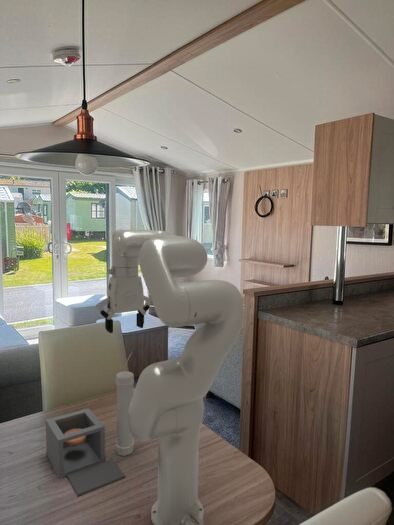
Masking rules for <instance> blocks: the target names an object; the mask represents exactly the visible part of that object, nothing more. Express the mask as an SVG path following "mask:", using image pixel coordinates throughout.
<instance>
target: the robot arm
mask: <svg viewBox="0 0 394 525" xmlns="http://www.w3.org/2000/svg"><path fill="white" fill-rule="evenodd" d="M111 255H112V256H111V268H110V269H108V268H107V274H108V275H111V276H110V277H109V281H108V287H107V294H106V295H107V296H106V298H105V299H103V300H101V301H100V302H98V303H97V304H96V309H97V311H98V312H99V314H100V315H101V316H102V317H103V318H105V319H104V321H105V322H104V323H105V326H104V328H105V330H106V332H108V333H109V334H113V333H114V319H113V317H114V315H115V314H121V313H122V314H123V313H128V312H136V311H137V313H136V327H138V328H141V329H143V328H144V325H145V315H147V311H148V310H149V309H150V306H151V304H153V308H154V310H155V313H156V315H157V317H158V319H159V320H160V321H161V323H163V324H164V325H165V326H167V327H169V328H181V327H182V328H183V327H187V326H192V325H199V324H201V326H200V327H198V328H197V329H196V330H195V331H194V332H193V333H192V334H191V335H190V336H189V338H188V340H187V341H186V343H185V345H184V348H183V350H182V352H181V354H180V355H179V356H178V357H175V358H172V359H166V360H162V361H158V362H153V363H151V364H150V365H148V366H146V367H145V368H144V369H143V370H142V371H141V373H140V375H139V377H138V379H137V382H136V385H135V389H134V391H133V397H132V400H131V403H130V406H129V412H128V424H129V428H130V431H131V433H132V435H133V438H135V439H136V440H138V441H140V442H150V441H154V440H157V439H159V442H158V447H157V500H156V501H155V502H154V504H153V505H152V507H151V509H150V510H151V511H150V520H151V522H152V524H153V525H205V521H204V518H205V517H204V516H205V510H204V506H203V504H202V502H201V501H200V500H199V498H198V497H199V493H198V492H199V452H200V450H199V449H200V434H201V427H202V424H203V420H204V415H205V414H204V413H205V402H204V397H205V396H206V395H207V394H208V392H209V391H210V389H211V387H212V386H213V384H214V381H215V380H216V377H217V375H218V373H219V371H220V370H221V367H222V365H223V362H224V361H225V359H226V357H227V355H228V354H229V353H230V351H231V349H233V346H234V345H235V344H236V342H237V340H238V338H239V336H240V334H241V331H242V328H243V324H244V318H245V307H244V299H243V296H242V293H241V291H240V290H239V289H238V287H237V286H236V285H235V284H233V283H231V282H229V281H226V280H220V279H205V280H204V279H203V280H195V281H182V282H181V281H180V282H176V281H175V279H174V278H187V277H193V276H194V275H198V274H199V273H200V272H202V271H203V270H204V268H205V267H206V266H207V262H208V253H207V250H206V248H205V246H204V245H203V244H202V243H201V242H199V241H198V240H196V239H193V238H191V237H185V236H181V235H175V233H173V232H171V231H166V230H155V229H152V230H150V229H116V230H114V231H113V232H112V234H111ZM139 269H140V272H141V275H142V276H140V275H139ZM142 278H143V280H142ZM143 281H144V283H145V286H146V289H147V291H148V294H149V297H148V296H146V295H145V294H144V287H143ZM105 306H106V307H107V310H106V311H105V309H104V307H105Z"/></svg>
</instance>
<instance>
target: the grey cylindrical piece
mask: <svg viewBox="0 0 394 525" xmlns="http://www.w3.org/2000/svg"><path fill="white" fill-rule="evenodd" d="M132 354H133V352H131V353H130V355H129V356H128V358H127V360H126V363H125V368H124V371H120V372H117V373H116V375H115V385H116V442H115V450H116V451H115V452H116V454H117V455H118V456H128V455H131V454H132V453H133V452H134V447H135V441H134V439H133V438H134V436H133V435H132V433H131V431H130V428H129V424H128V412H129V406H130V403H131V400H132V397H133V394H134V391H133V390H134V389H133V388H134V384H135V379H134V375H135V374H134V373H133V372H131V371H126V370H127V369H126V368H127V364H128V361H129V359H130V357H131V355H132Z"/></svg>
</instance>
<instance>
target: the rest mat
mask: <svg viewBox="0 0 394 525" xmlns="http://www.w3.org/2000/svg"><path fill="white" fill-rule="evenodd" d="M66 477H67V478H66V479H68V481H69V483H70V486H72V488H73V491H74V492H75V494H76V495H77V497H80V496H83V495H85V494H87V493H88V494H89V493H90V492H93V491H95V490H98V489H101V488H104V487H105V486H108V485H110V484H113V483H115V482H118V481H119V480H122V479H125V478H126V474H125V473H124V472H123V471H122V470H121V468H120V467H119V465H117V463H116V462H115V461H114V459H113V458H111V459H107V460H105V462H102V463H99V464H96V465H94V466H91V467H88V468H85V469H82V470H80V471H77V472H74V473H71V474H69V475H67V476H66Z"/></svg>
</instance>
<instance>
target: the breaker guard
mask: <svg viewBox="0 0 394 525" xmlns="http://www.w3.org/2000/svg"><path fill="white" fill-rule="evenodd" d="M77 428H79V429H81V430H78V431H74V432H71V433H68V434H64V433H65V432H67V431H69V430H71V429H77ZM105 429H106V426H105V425H104V424H103V422H101V420H100V419H99V418H98V417H97V416H96V415H95V413H94V411H92V410H91V409H90V408H89V407H88V408H83V409H80V410H77V411H72V412H69V413H66V414H62V415H59V416H53V417H51V418H46V419H45V439H46V440H45V441H46V442H45V444H46V456H47V459H48V461H49V462H50V464H51V466H52V468H53V471H54V472H55V474H56V476H57V478H58V479H60V480H61V479H62V478H65V477H67V475H69V474H71V473H74V472H77V471H80V470H82V469H85V468H88V467H91V466H94V465H96V464H99V463H102V462H105V461H106V455H105V453H106V450H105V449H106V443H105V441H106V436H105V434H106V433H105ZM82 436H86V440H85V441H84V442H83V443H81V444H79V445H78V446H71V445H66V444H65V443H64V442H66V441H70V440H73V439H76V438H79V437H82Z"/></svg>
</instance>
